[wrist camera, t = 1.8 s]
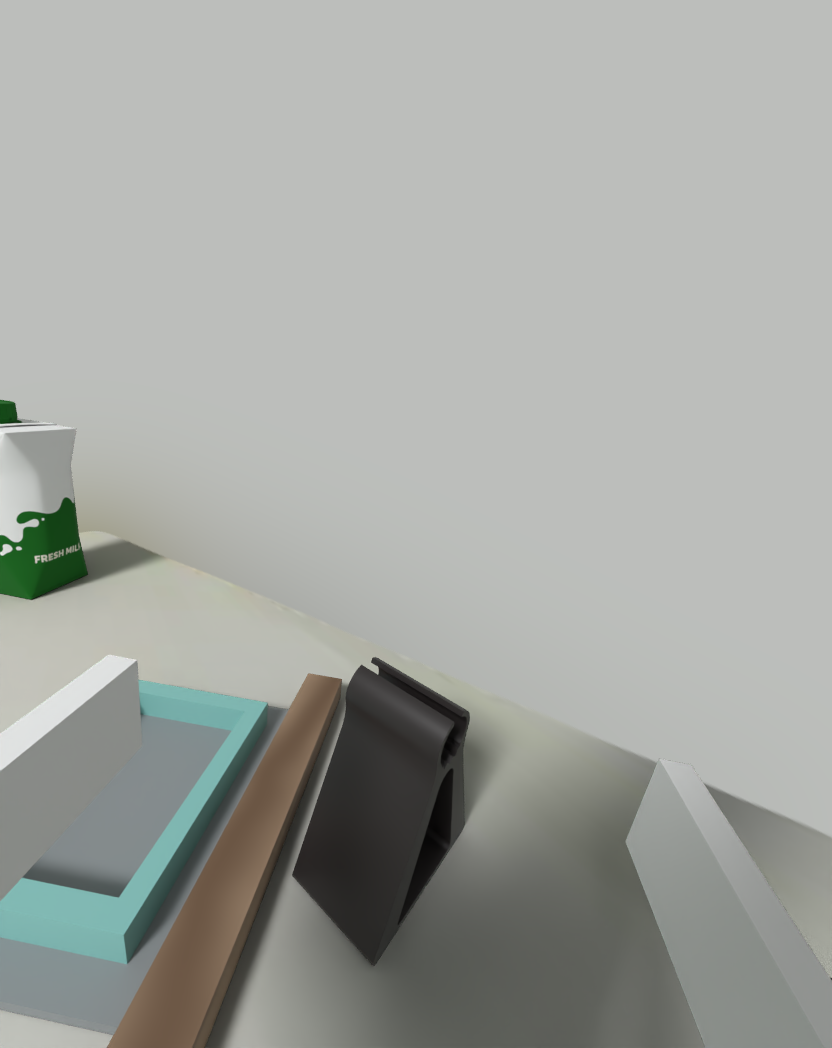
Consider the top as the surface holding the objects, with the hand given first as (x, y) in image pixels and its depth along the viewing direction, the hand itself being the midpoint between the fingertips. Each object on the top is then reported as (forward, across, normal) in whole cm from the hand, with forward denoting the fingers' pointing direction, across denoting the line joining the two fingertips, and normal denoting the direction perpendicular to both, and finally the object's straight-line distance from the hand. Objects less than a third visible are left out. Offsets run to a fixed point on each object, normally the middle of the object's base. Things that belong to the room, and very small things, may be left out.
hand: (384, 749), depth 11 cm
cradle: (+10, -15, -18) cm, 26 cm away
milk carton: (+32, -44, -18) cm, 58 cm away
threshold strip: (+10, -7, -18) cm, 22 cm away
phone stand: (+10, +1, -18) cm, 20 cm away
